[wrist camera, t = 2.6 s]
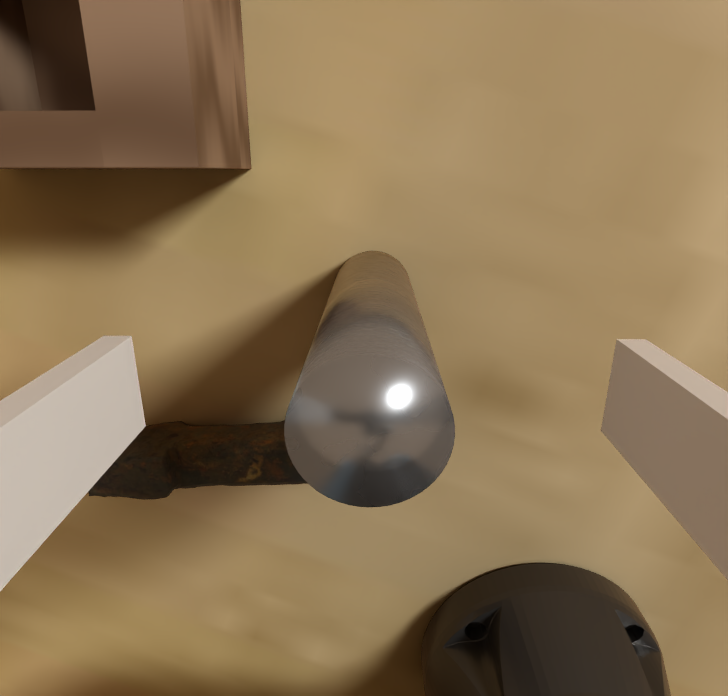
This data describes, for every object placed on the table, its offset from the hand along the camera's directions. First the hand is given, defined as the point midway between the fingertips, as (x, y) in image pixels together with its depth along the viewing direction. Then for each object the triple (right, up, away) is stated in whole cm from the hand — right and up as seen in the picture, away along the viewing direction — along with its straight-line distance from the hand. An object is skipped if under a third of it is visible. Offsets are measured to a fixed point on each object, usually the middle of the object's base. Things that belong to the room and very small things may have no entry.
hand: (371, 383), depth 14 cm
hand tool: (-7, -5, +17) cm, 19 cm away
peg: (0, +4, +13) cm, 14 cm away
